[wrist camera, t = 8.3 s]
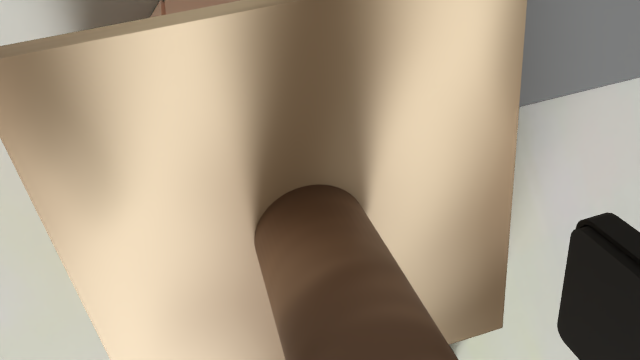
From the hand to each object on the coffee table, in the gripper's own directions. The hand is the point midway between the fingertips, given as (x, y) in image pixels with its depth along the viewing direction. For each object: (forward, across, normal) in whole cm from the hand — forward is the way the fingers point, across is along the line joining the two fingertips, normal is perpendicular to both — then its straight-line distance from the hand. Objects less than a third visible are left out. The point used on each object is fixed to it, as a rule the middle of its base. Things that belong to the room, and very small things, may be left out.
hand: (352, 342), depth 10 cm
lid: (+4, 0, 0) cm, 5 cm away
